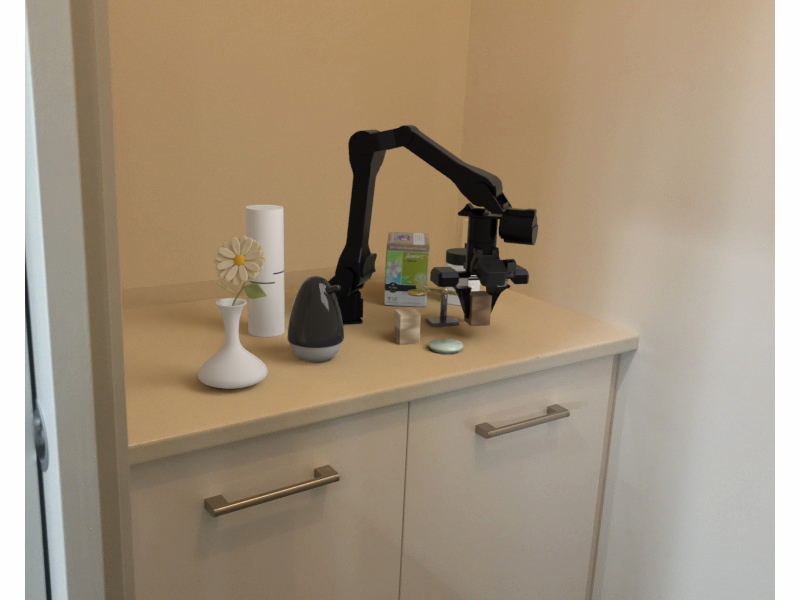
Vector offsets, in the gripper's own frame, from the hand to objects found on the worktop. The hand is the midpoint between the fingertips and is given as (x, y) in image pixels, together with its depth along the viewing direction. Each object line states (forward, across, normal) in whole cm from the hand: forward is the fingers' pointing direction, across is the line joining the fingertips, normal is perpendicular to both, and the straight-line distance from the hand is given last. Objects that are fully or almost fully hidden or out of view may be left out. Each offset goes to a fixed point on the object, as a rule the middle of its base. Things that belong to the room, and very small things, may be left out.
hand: (477, 317), depth 154 cm
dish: (+4, -8, -5) cm, 10 cm away
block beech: (+4, -14, +1) cm, 15 cm away
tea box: (+5, -5, +32) cm, 33 cm away
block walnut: (+1, 0, 0) cm, 1 cm away
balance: (+4, -3, +11) cm, 12 cm away
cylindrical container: (+5, -40, +12) cm, 42 cm away
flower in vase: (+5, -48, -15) cm, 51 cm away
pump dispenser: (+5, -33, -5) cm, 34 cm away
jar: (+5, +7, +27) cm, 28 cm away
